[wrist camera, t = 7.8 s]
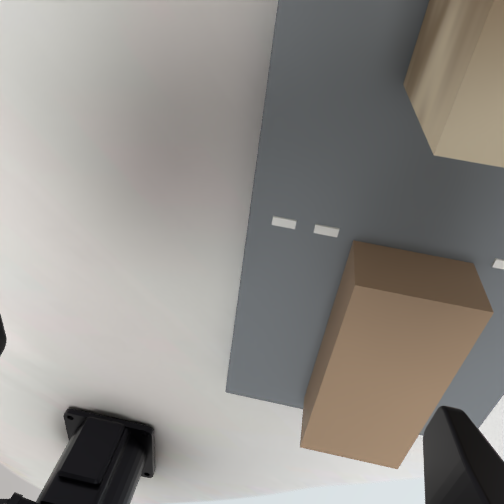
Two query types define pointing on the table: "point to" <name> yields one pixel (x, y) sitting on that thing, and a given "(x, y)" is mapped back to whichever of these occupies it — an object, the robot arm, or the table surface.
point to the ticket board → (357, 188)
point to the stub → (460, 80)
